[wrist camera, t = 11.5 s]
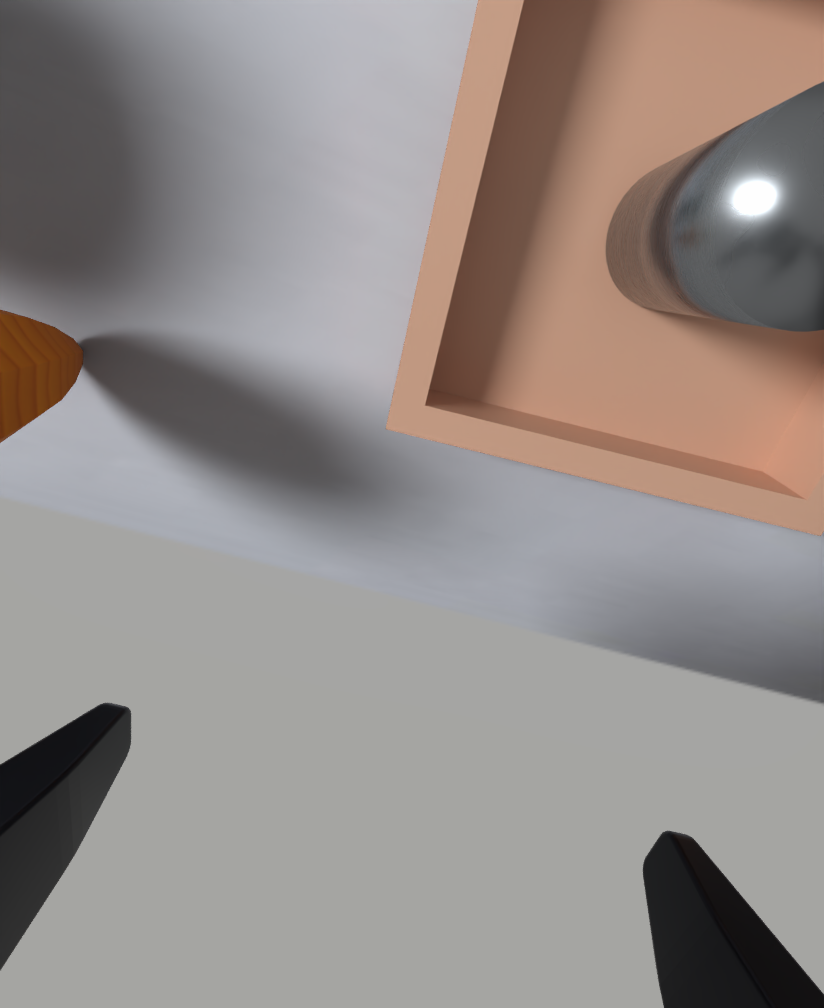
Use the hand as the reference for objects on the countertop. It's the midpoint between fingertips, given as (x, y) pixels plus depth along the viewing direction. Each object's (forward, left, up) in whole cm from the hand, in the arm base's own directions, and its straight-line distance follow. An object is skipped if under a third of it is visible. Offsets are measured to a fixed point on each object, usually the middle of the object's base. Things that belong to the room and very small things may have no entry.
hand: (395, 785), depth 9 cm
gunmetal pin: (-5, -10, -12) cm, 16 cm away
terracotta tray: (-5, -10, -13) cm, 17 cm away
